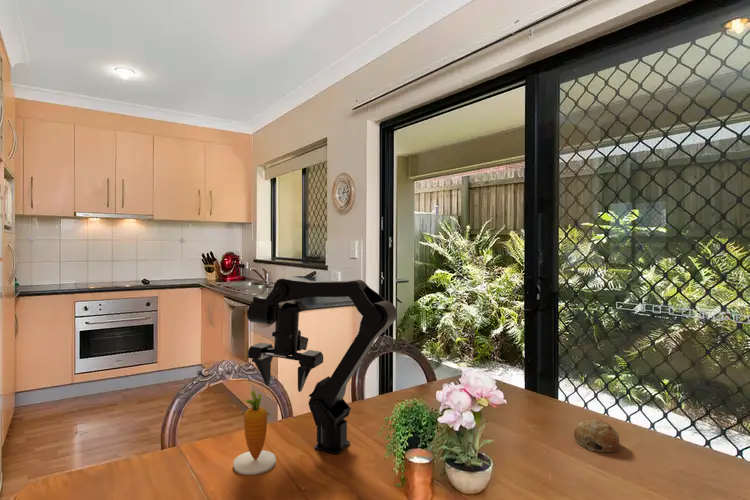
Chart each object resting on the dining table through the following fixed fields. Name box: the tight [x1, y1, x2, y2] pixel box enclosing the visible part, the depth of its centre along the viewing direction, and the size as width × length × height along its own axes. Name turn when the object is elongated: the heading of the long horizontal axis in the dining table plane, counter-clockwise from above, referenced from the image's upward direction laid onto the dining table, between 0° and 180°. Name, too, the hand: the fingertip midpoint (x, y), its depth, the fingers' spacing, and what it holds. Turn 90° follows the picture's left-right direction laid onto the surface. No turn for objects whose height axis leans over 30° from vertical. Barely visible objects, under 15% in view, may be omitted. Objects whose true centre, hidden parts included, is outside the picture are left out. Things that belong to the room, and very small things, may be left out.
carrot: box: [243, 390, 268, 460], centre depth 98 cm, size 5×5×15 cm
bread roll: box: [573, 417, 620, 453], centre depth 109 cm, size 10×10×8 cm
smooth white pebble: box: [232, 449, 277, 476], centre depth 98 cm, size 9×9×1 cm
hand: (283, 388), depth 111 cm, fingers open, 9 cm apart
